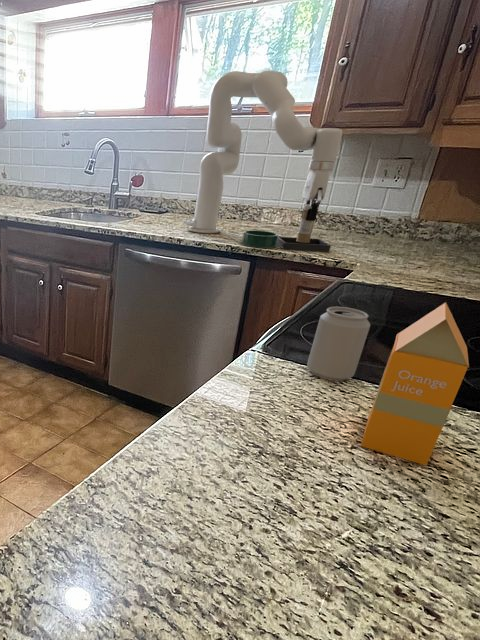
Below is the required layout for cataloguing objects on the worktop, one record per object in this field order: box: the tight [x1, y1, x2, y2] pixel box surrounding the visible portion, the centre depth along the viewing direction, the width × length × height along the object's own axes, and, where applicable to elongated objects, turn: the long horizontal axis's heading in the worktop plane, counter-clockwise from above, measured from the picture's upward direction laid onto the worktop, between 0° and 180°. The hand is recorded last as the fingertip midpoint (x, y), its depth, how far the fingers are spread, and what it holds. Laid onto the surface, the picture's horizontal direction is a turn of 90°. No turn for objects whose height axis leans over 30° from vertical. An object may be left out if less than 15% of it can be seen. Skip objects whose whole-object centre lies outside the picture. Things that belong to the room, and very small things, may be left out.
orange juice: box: [360, 301, 470, 466], centre depth 71 cm, size 8×9×20 cm
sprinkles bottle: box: [296, 204, 315, 243], centre depth 192 cm, size 5×5×13 cm
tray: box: [276, 236, 332, 253], centre depth 195 cm, size 15×12×2 cm
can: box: [306, 306, 371, 382], centre depth 93 cm, size 8×8×12 cm
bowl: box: [241, 229, 279, 249], centre depth 198 cm, size 12×12×4 cm
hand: (308, 218), depth 191 cm, fingers closed on sprinkles bottle, 4 cm apart
